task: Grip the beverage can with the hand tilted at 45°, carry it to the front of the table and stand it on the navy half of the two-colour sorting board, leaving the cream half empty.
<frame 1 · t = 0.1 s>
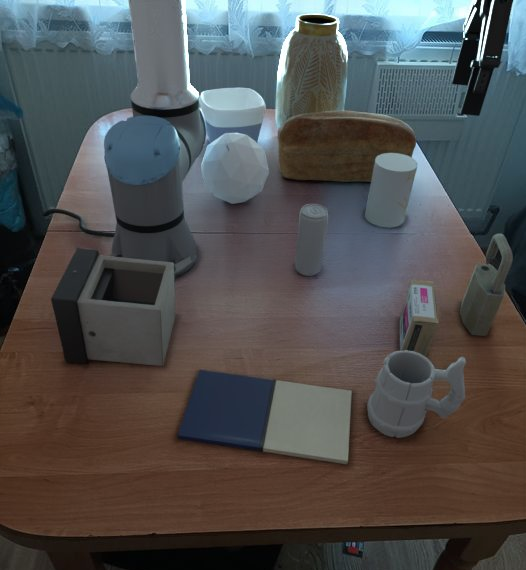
hand: (464, 98, 85), 28 cm above the table, tool pointing down, fingers open, 13 cm apart
mug: (408, 419, 74), on the table
padlock: (473, 320, 90), on the table
bread: (341, 174, 127), on the table
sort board: (268, 415, 73), on the table
ink box: (410, 342, 85), on the table
white cylinder: (384, 218, 113), on the table
vase: (306, 137, 141), on the table
geodesic sphere: (235, 199, 116), on the table
grey open box: (125, 339, 83), on the table
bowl: (232, 145, 136), on the table
beverage can: (307, 270, 98), on the table
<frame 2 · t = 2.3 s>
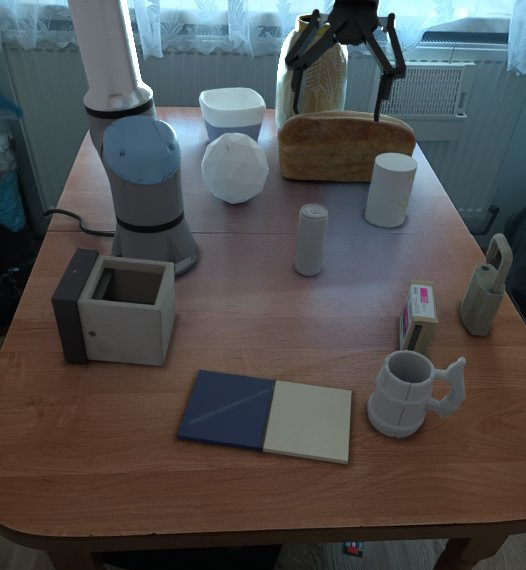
hand: (335, 115, 90), 23 cm above the table, tool tilted 40°, fingers open, 13 cm apart
nothing on the table moved.
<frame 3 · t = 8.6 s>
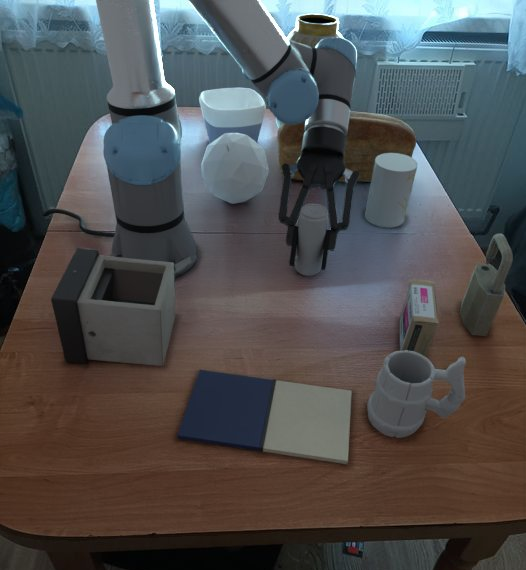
hand: (307, 266, 93), 3 cm above the table, tool tilted 45°, fingers closed on beverage can, 5 cm apart
beverage can: (307, 270, 98), on the table, touching gripper
everything else where it was.
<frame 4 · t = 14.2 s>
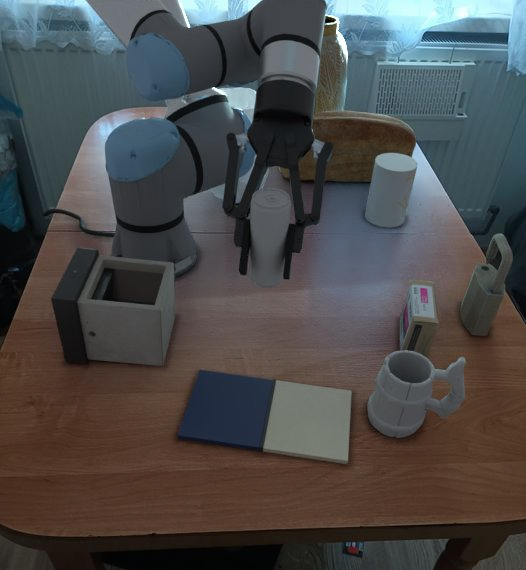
hand: (264, 275, 67), 17 cm above the table, tool tilted 45°, fingers closed on beverage can, 5 cm apart
beverage can: (266, 280, 73), point 14 cm above the table, touching gripper
everything else where it was.
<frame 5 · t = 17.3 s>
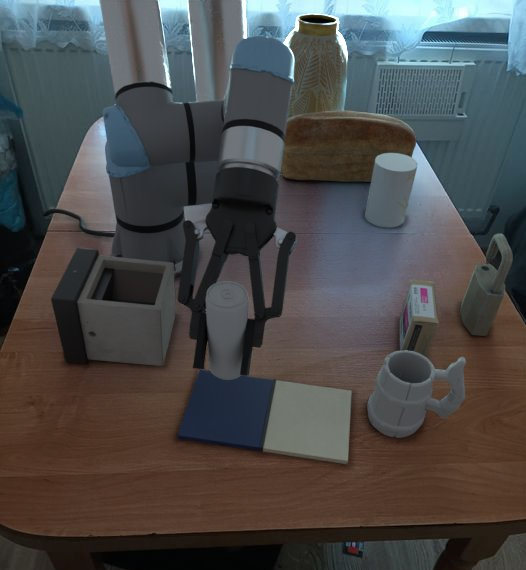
hand: (221, 371, 63), 11 cm above the table, tool tilted 45°, fingers closed on beverage can, 5 cm apart
beverage can: (228, 369, 68), point 8 cm above the table, touching gripper
everything else where it was.
when the fingers open (4 cm above the table, at t = 19.7 s): beverage can stays where it is, resting on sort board.
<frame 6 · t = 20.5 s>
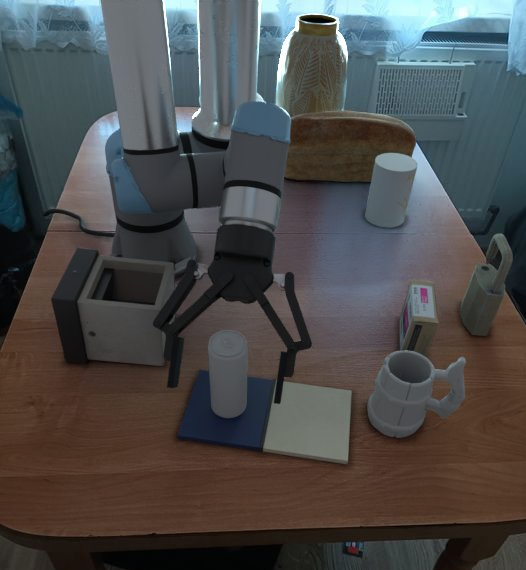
hand: (224, 395, 68), 5 cm above the table, tool tilted 45°, fingers open, 13 cm apart
beverage can: (228, 407, 73), point 1 cm above the table, touching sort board
everything else where it was.
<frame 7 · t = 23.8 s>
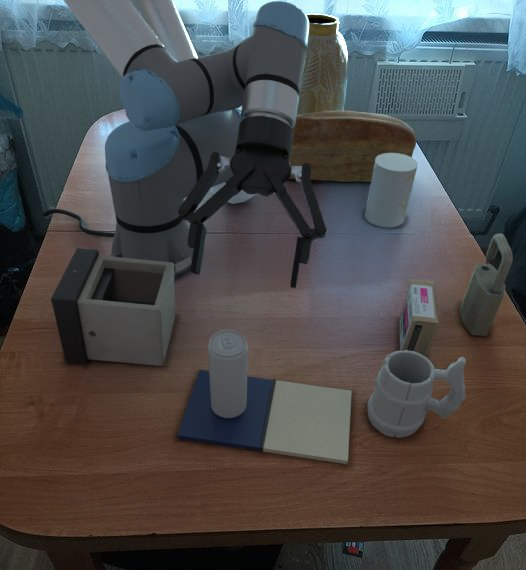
hand: (243, 279, 73), 13 cm above the table, tool tilted 45°, fingers open, 13 cm apart
nothing on the table moved.
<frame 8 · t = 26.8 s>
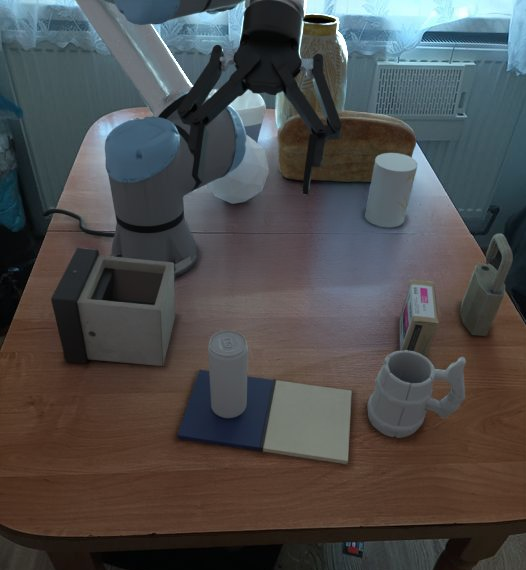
hand: (250, 185, 66), 26 cm above the table, tool tilted 45°, fingers open, 13 cm apart
nothing on the table moved.
at the end: beverage can inside the target area on the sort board (0.3 cm from its centre), point 0.6 cm above the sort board's base; beverage can tilted 0°; the gripper is holding nothing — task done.
